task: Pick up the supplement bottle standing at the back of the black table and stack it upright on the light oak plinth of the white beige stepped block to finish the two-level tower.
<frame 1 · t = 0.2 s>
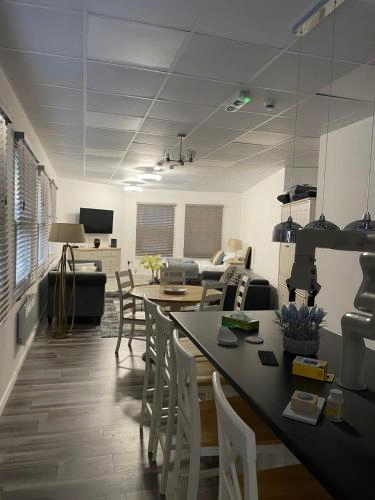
hand: (301, 304, 145), 37 cm above the counter, tool pointing down, fingers open, 9 cm apart
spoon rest: (224, 341, 218), on the counter
white beige stepped block: (303, 410, 135), on the counter
supplement bottle: (334, 419, 130), on the counter
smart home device: (267, 360, 190), on the counter
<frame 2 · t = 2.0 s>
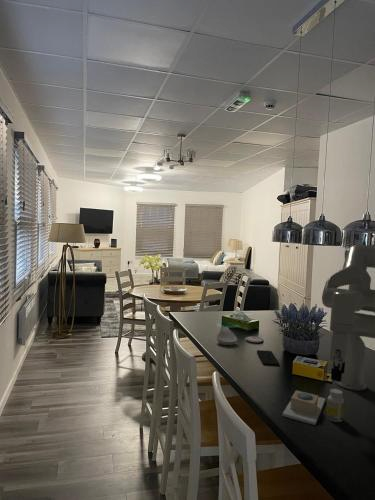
hand: (337, 376, 129), 15 cm above the counter, tool pointing down, fingers open, 9 cm apart
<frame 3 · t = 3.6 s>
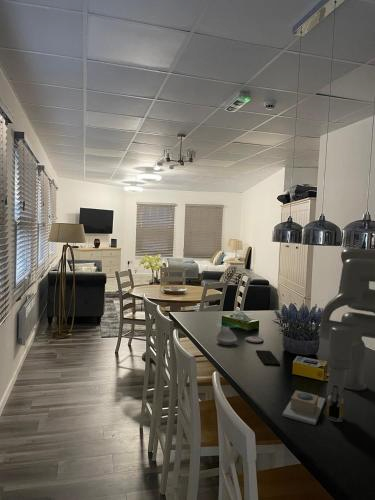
hand: (335, 412, 130), 2 cm above the counter, tool pointing down, fingers closed on supplement bottle, 5 cm apart
supplement bottle: (334, 419, 130), on the counter, touching gripper
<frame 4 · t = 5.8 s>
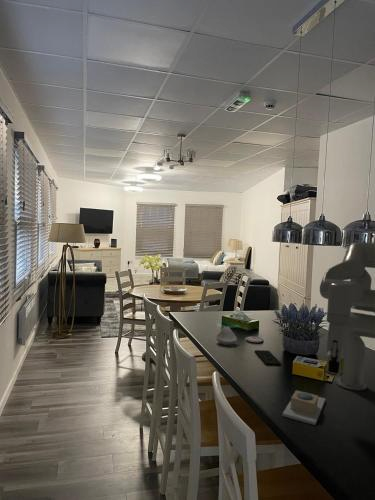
hand: (334, 369, 130), 17 cm above the counter, tool pointing down, fingers closed on supplement bottle, 5 cm apart
supplement bottle: (334, 375, 130), point 15 cm above the counter, touching gripper
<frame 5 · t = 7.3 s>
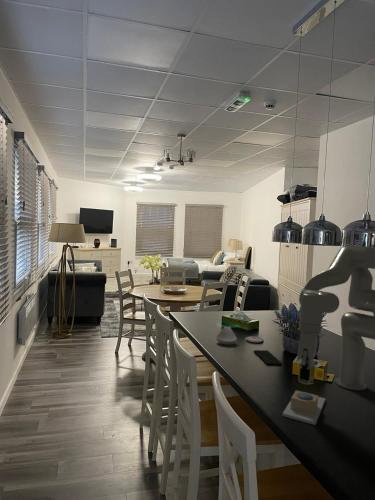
hand: (306, 376, 135), 13 cm above the counter, tool pointing down, fingers closed on supplement bottle, 5 cm apart
supplement bottle: (305, 382, 135), point 10 cm above the counter, touching gripper
when the fingers open (9 cm above the counter, at t = 8.3 s): supplement bottle drops 2 cm, resting on white beige stepped block.
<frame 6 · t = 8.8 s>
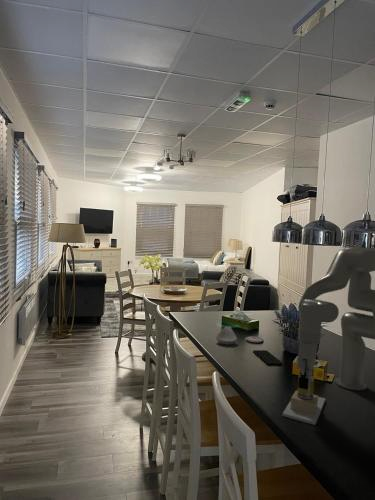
hand: (305, 383, 135), 10 cm above the counter, tool pointing down, fingers open, 9 cm apart
supplement bottle: (305, 396, 135), point 5 cm above the counter, touching white beige stepped block
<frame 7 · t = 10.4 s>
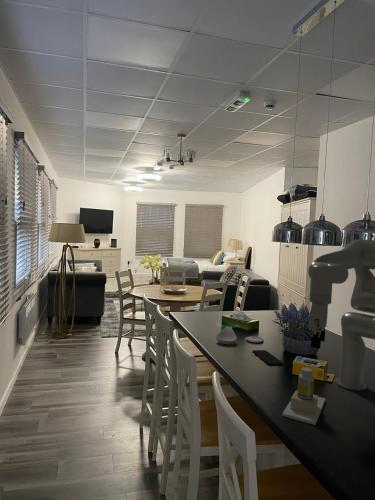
hand: (317, 344, 137), 24 cm above the counter, tool pointing down, fingers open, 9 cm apart
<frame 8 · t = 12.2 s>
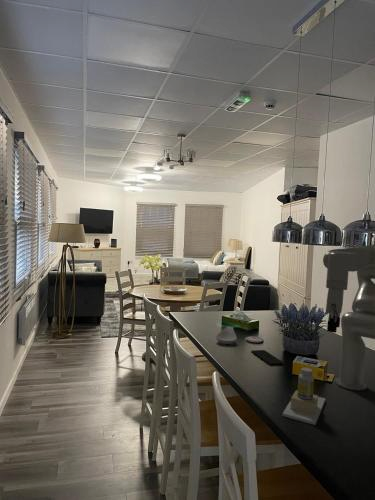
hand: (333, 329, 142), 28 cm above the counter, tool pointing down, fingers open, 9 cm apart
at the end: supplement bottle 0.3 cm off-centre on the white beige stepped block, point 5.0 cm above the white beige stepped block's base; supplement bottle tilted 0°; the gripper is holding nothing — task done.
